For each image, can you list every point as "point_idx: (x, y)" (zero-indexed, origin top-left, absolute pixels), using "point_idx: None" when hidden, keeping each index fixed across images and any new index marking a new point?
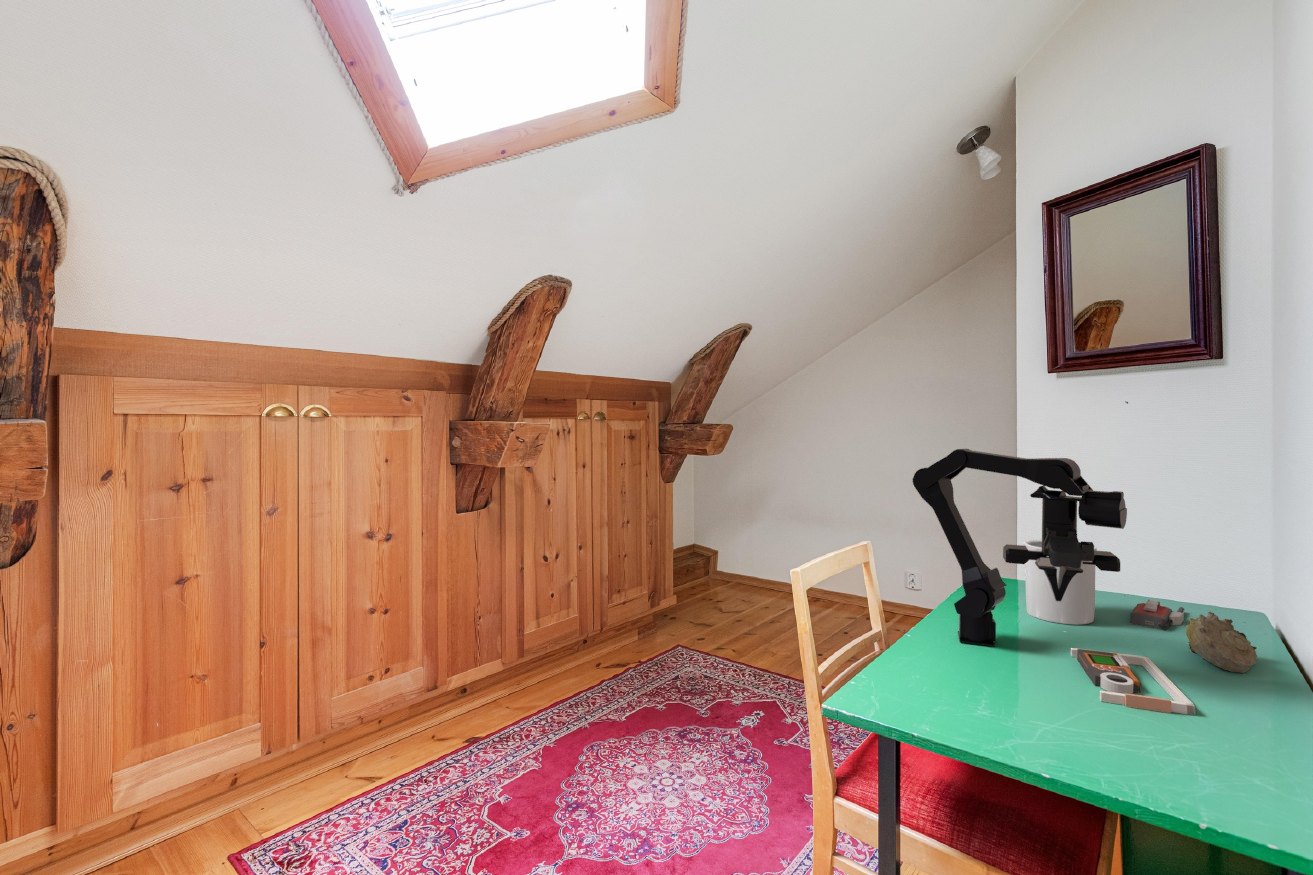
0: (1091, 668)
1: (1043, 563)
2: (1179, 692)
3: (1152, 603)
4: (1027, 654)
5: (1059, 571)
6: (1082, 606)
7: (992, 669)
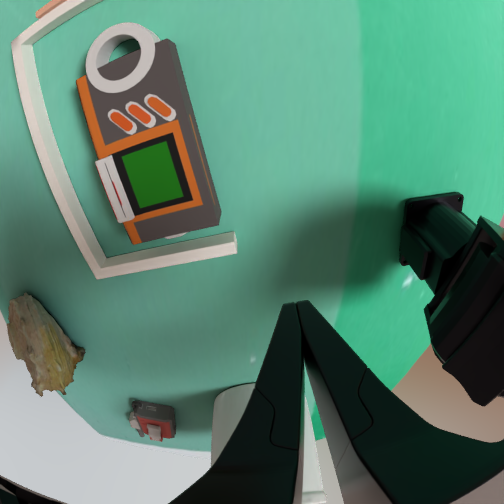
0: (176, 86)
1: (499, 496)
2: (23, 92)
3: (154, 435)
4: (336, 189)
5: (302, 484)
6: (227, 416)
7: (412, 40)
